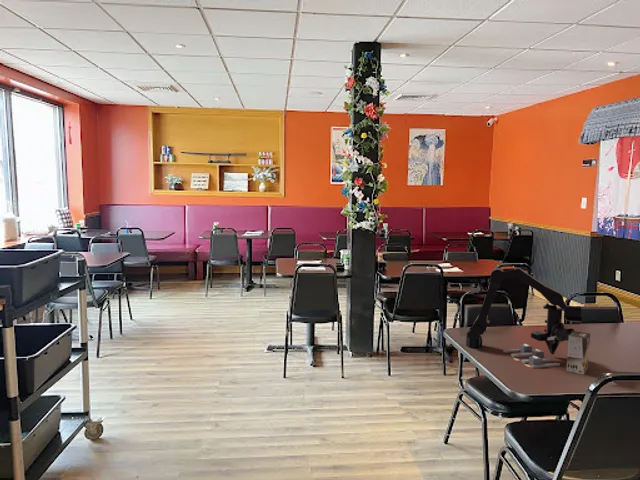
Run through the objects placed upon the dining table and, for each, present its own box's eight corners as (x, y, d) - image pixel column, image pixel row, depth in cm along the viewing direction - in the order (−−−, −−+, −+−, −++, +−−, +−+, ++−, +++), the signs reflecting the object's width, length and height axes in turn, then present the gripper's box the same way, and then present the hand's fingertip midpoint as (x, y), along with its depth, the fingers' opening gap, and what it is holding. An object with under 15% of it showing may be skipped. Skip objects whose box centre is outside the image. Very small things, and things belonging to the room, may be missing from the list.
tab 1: (524, 353, 208) (524, 345, 208) (520, 351, 211) (520, 343, 210) (531, 353, 209) (532, 345, 209) (527, 351, 212) (528, 343, 211)
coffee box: (583, 377, 184) (586, 338, 183) (565, 373, 188) (568, 335, 187) (587, 371, 191) (590, 333, 190) (570, 367, 195) (573, 330, 194)
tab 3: (533, 366, 192) (533, 358, 192) (528, 364, 195) (529, 356, 194) (541, 366, 193) (541, 357, 192) (536, 363, 196) (537, 355, 195)
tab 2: (535, 359, 201) (536, 351, 200) (531, 357, 203) (531, 349, 203) (543, 358, 202) (544, 350, 201) (539, 356, 204) (539, 348, 204)
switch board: (529, 371, 190) (529, 366, 190) (500, 354, 210) (500, 350, 210) (562, 368, 194) (563, 363, 194) (531, 352, 213) (531, 348, 213)
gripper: (548, 325, 193) (546, 361, 194) (586, 323, 197) (584, 359, 198) (530, 318, 204) (529, 353, 205) (567, 316, 208) (565, 350, 209)
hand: (552, 354), depth 204 cm, fingers closed
